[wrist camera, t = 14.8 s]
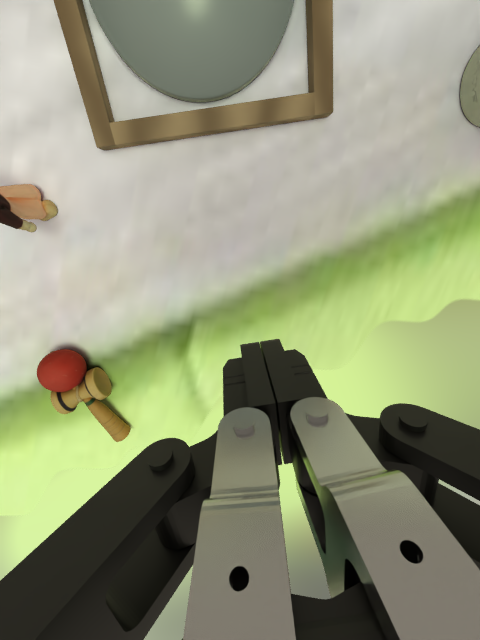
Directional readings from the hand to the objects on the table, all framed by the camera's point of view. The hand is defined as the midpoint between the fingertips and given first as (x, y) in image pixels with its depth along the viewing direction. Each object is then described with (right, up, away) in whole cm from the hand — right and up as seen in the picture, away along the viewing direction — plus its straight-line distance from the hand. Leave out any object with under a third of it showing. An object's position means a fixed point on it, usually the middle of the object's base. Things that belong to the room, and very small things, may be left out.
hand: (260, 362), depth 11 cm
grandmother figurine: (-26, +16, +23) cm, 38 cm away
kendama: (-24, -9, +34) cm, 43 cm away
